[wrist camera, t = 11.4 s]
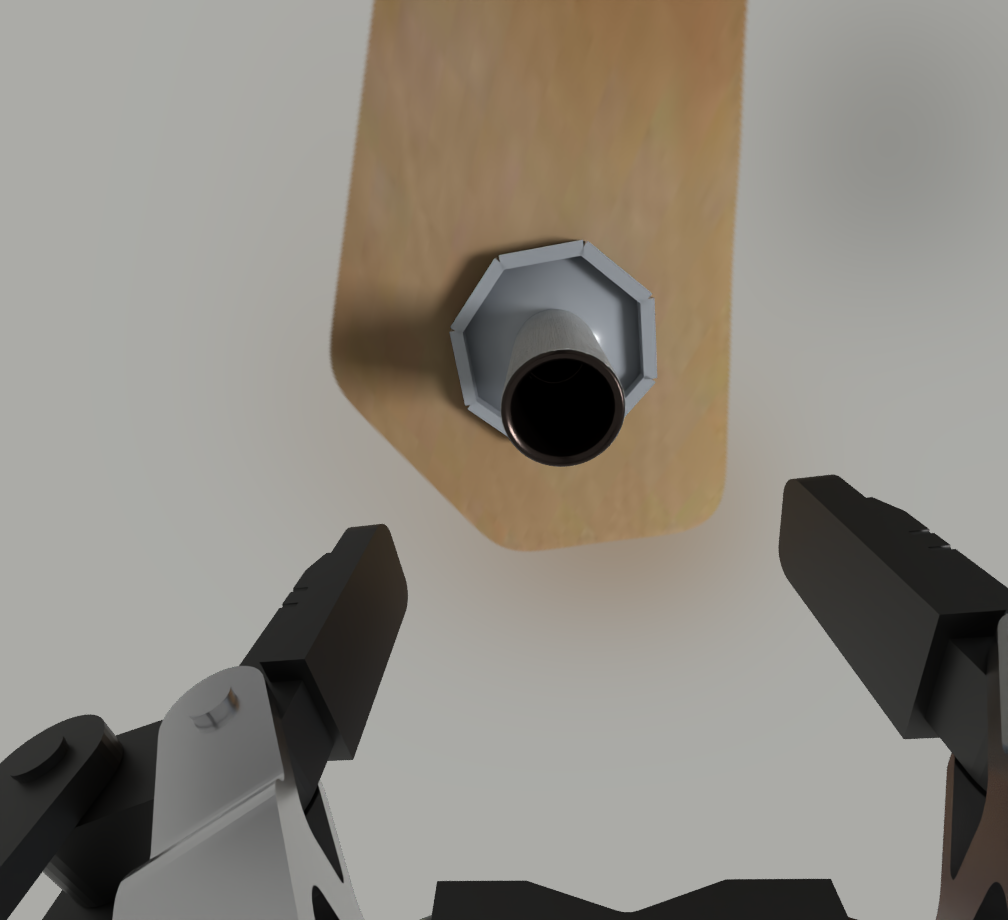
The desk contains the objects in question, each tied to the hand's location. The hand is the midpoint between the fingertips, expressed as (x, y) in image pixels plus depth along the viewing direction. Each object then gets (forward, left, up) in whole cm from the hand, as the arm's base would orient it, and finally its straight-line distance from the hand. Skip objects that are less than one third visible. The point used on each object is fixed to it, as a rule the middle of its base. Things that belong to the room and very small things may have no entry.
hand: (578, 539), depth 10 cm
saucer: (0, 0, -19) cm, 19 cm away
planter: (0, 0, -19) cm, 19 cm away
